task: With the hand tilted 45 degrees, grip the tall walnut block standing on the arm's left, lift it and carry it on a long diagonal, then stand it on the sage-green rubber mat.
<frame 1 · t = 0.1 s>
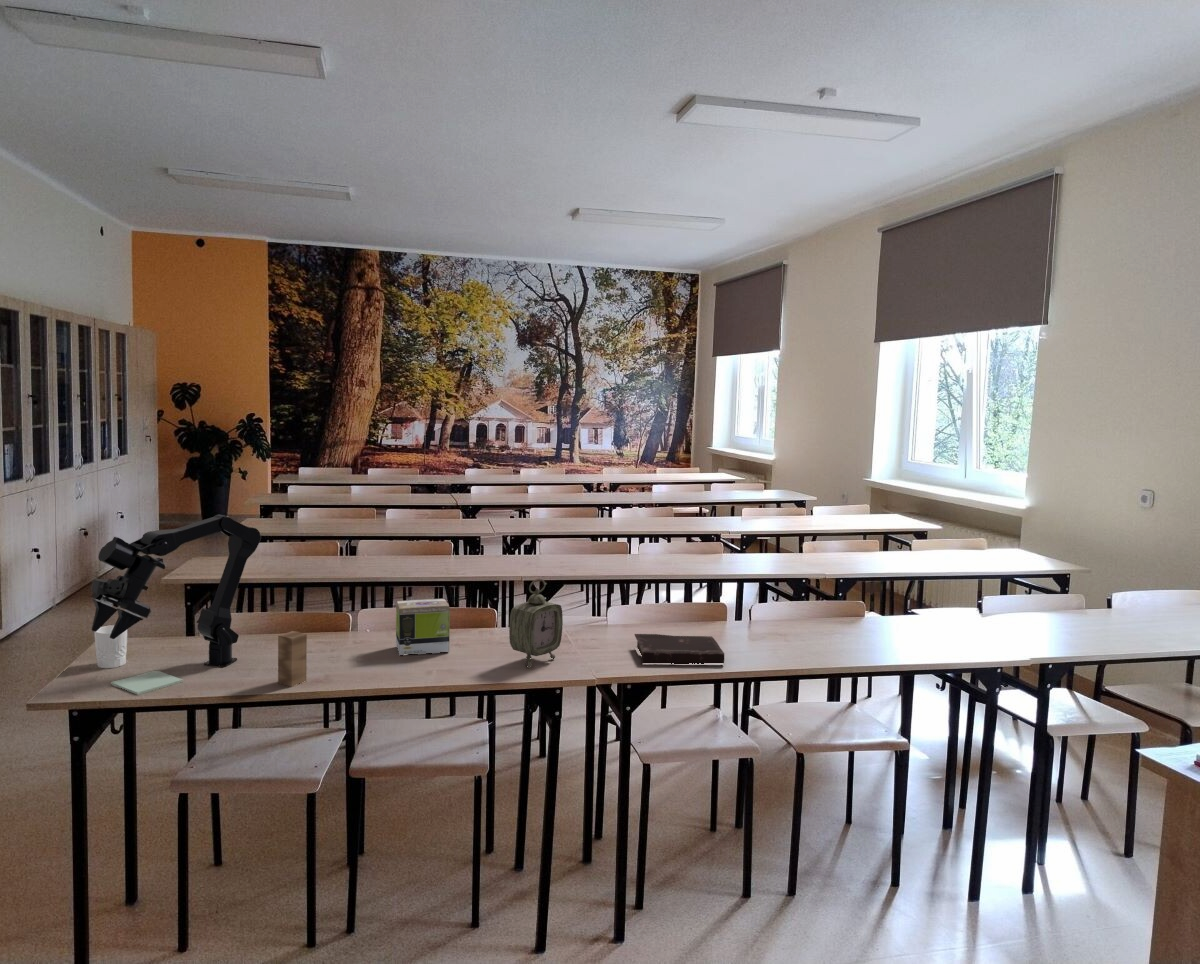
hand: (102, 634, 210), 15 cm above the table, tool tilted 35°, fingers open, 9 cm apart
diary: (677, 658, 261), on the table
white cup: (111, 665, 232), on the table
green mat: (147, 683, 219), on the table
tabletop clock: (533, 662, 249), on the table
tea box: (422, 650, 256), on the table
walnut block: (292, 682, 224), on the table
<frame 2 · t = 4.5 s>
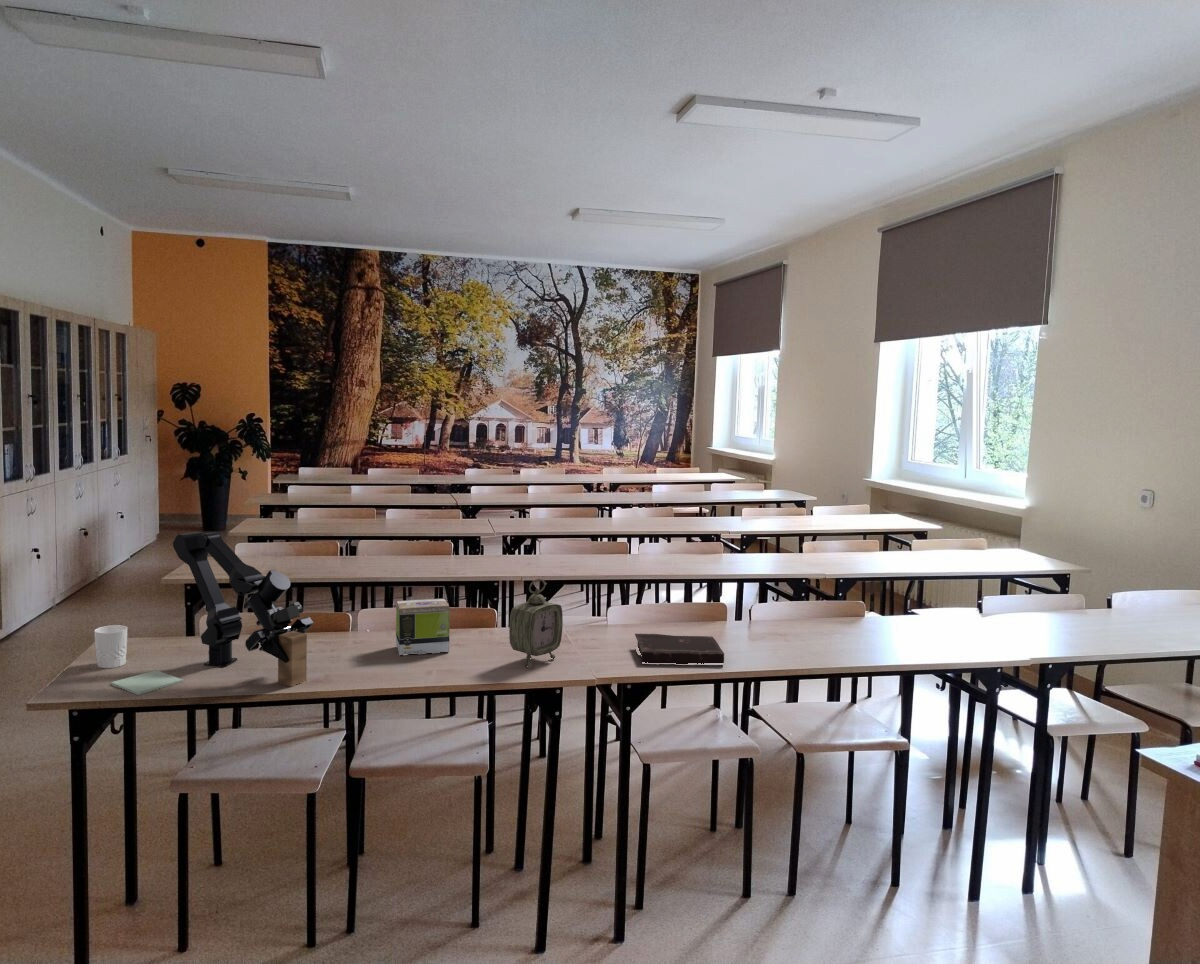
hand: (296, 659, 223), 7 cm above the table, tool tilted 45°, fingers closed on walnut block, 5 cm apart
walnut block: (292, 682, 224), on the table, touching gripper
everything else where it was.
when the fingers open (8 cm above the table, at t = 9.6 s): walnut block drops 1 cm, resting on green mat.
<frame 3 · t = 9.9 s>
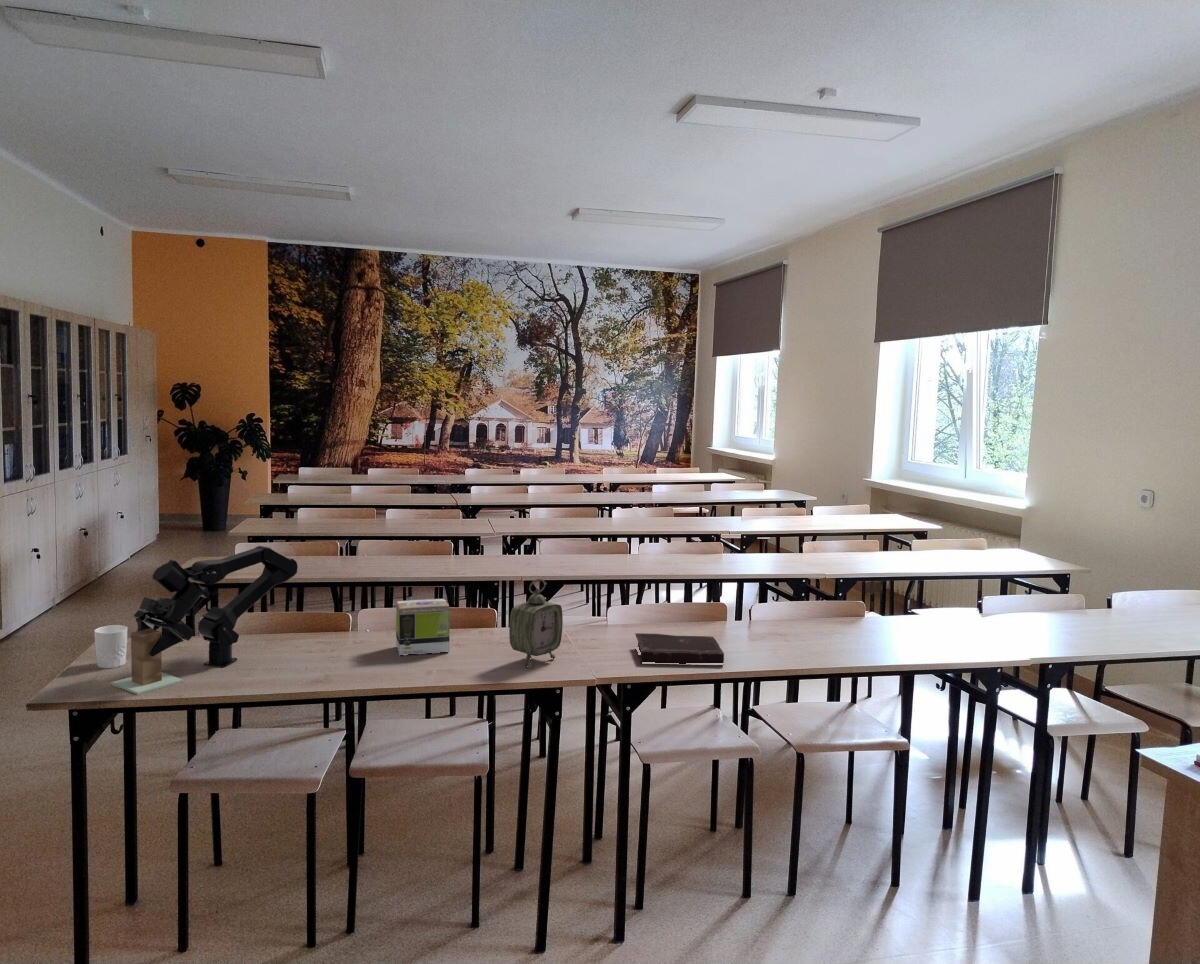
hand: (141, 652, 217), 9 cm above the table, tool tilted 45°, fingers open, 8 cm apart
walnut block: (146, 681, 219), point 1 cm above the table, touching green mat
everything else where it was.
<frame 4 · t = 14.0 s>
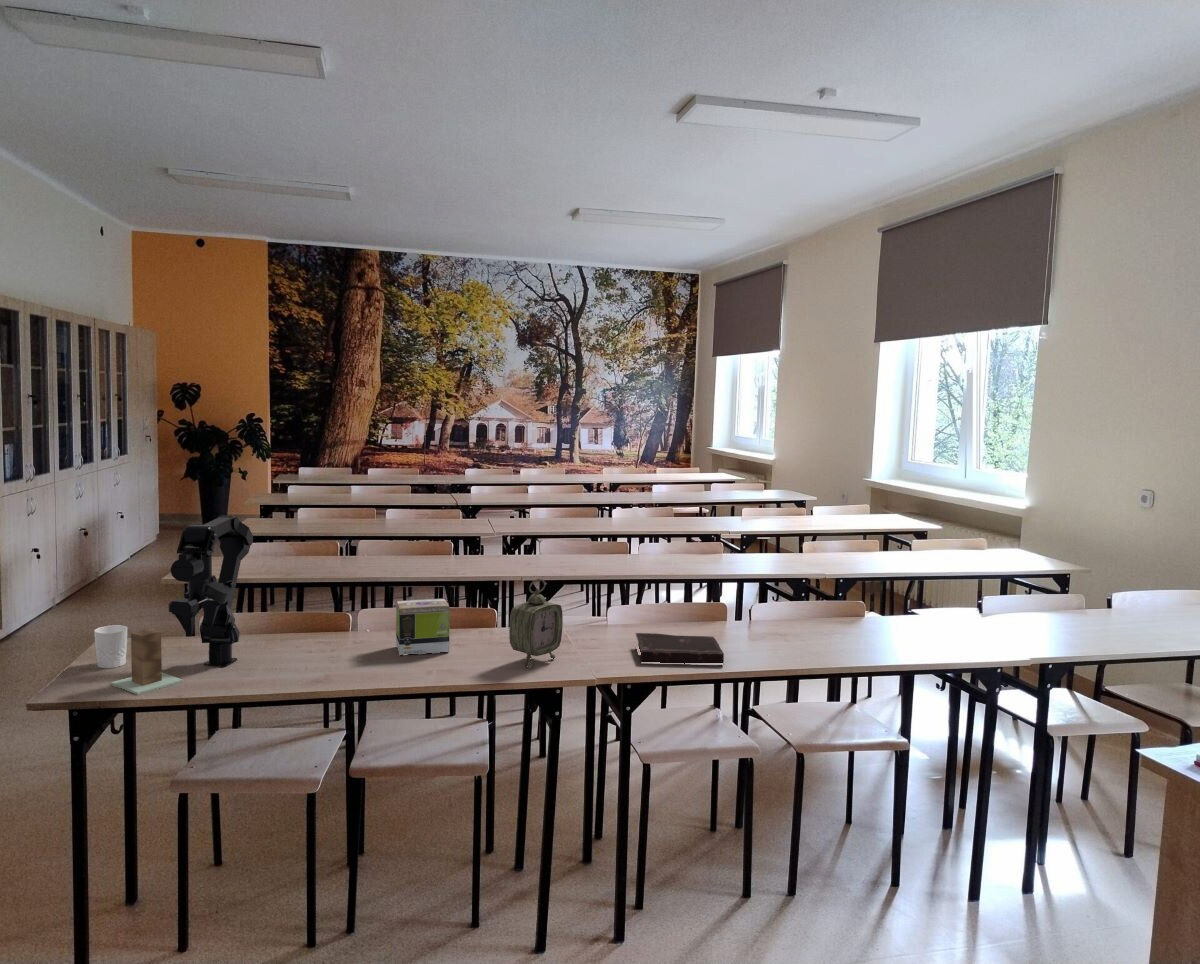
hand: (200, 631, 222), 13 cm above the table, tool pointing down, fingers open, 9 cm apart
nothing on the table moved.
at the end: walnut block inside the target area on the green mat (0.1 cm from its centre), point 0.6 cm above the green mat's base; walnut block tilted 0°; the gripper is holding nothing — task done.
